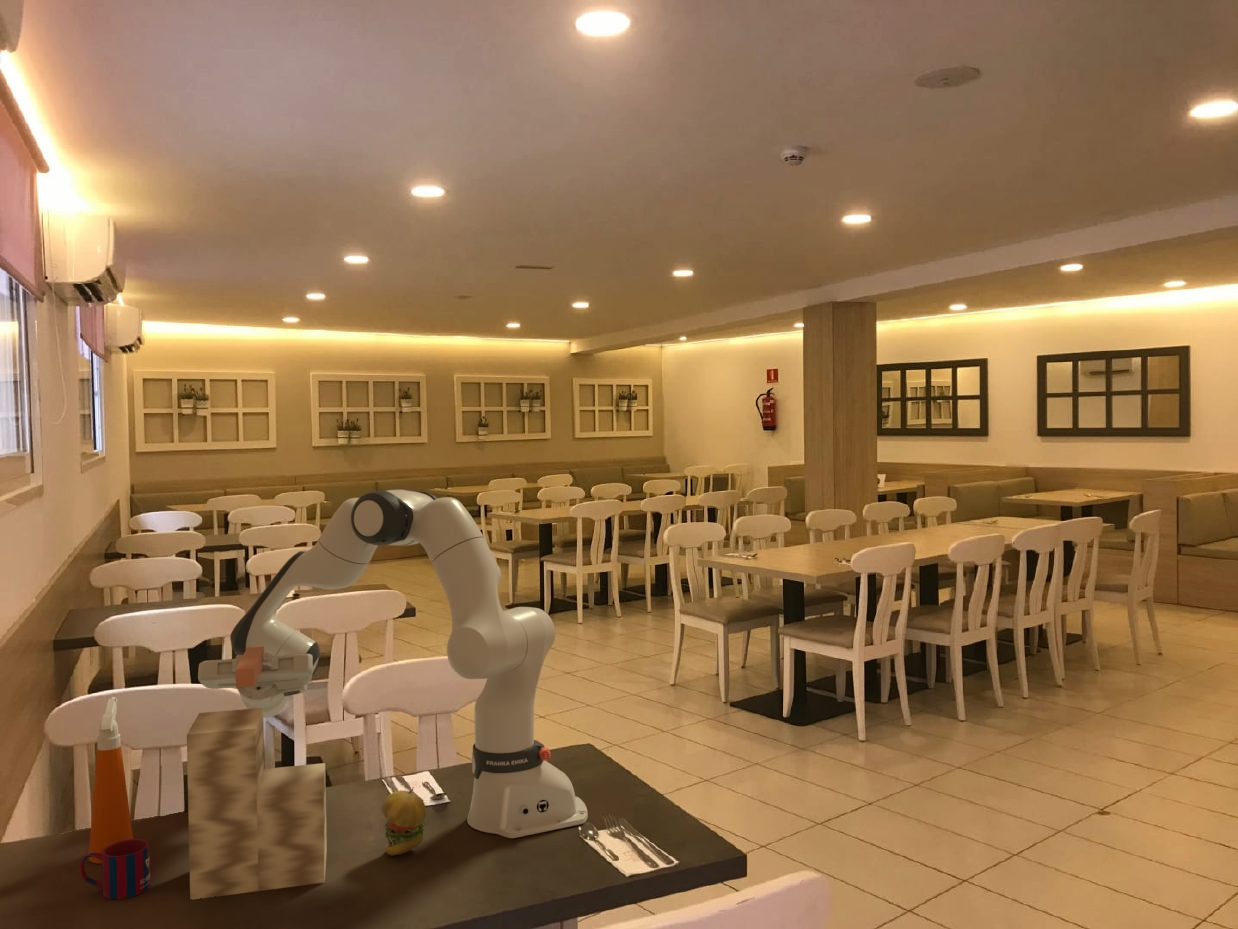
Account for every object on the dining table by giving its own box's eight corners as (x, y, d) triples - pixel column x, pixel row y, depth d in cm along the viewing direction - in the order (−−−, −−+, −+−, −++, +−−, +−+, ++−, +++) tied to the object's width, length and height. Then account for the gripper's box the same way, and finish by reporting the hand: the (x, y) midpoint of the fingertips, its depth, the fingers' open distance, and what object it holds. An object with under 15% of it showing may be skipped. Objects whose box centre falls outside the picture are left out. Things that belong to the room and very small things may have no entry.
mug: (139, 899, 147) (138, 856, 147) (73, 902, 147) (72, 858, 146) (157, 879, 154) (156, 838, 154) (93, 882, 153) (92, 840, 153)
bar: (264, 662, 177) (264, 646, 177) (254, 686, 160) (254, 668, 160) (247, 663, 176) (247, 647, 176) (235, 687, 159) (235, 670, 159)
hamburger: (403, 841, 167) (402, 774, 167) (435, 849, 164) (434, 781, 164) (373, 859, 161) (372, 789, 160) (406, 867, 157) (405, 796, 157)
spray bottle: (139, 836, 171) (136, 691, 170) (131, 860, 161) (128, 707, 160) (95, 842, 168) (92, 696, 168) (84, 867, 158) (80, 712, 158)
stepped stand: (326, 851, 164) (324, 703, 163) (324, 882, 152) (321, 723, 151) (202, 866, 158) (199, 713, 158) (190, 900, 147) (186, 734, 146)
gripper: (203, 668, 182) (192, 645, 171) (314, 660, 188) (311, 637, 176) (202, 700, 180) (190, 679, 168) (314, 691, 185) (311, 670, 173)
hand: (253, 658), depth 172 cm, fingers closed on bar, 3 cm apart
